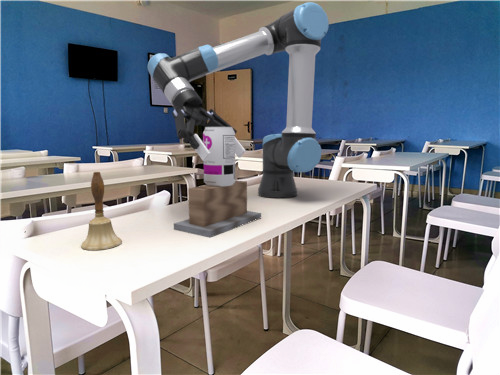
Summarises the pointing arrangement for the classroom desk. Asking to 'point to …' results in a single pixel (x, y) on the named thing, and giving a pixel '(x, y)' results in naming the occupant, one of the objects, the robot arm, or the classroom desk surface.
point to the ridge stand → (217, 209)
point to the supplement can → (219, 156)
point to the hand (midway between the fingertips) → (225, 155)
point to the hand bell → (99, 221)
